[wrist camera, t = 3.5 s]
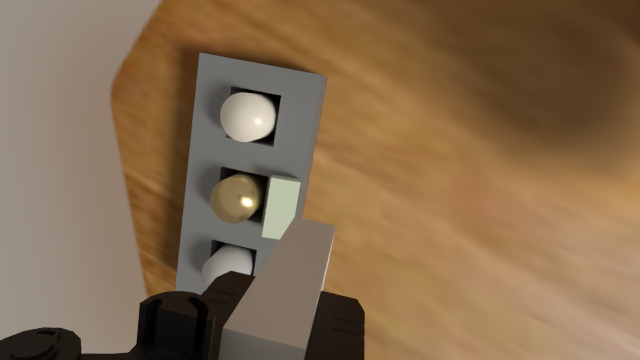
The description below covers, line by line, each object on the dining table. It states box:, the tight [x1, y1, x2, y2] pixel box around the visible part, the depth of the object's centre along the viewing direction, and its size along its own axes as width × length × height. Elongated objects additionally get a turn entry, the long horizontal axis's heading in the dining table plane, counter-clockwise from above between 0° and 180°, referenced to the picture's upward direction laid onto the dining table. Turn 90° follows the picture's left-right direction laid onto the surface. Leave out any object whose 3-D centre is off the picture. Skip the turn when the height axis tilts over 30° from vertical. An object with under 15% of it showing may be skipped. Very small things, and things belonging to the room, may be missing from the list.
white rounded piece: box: [220, 92, 279, 142], centre depth 35 cm, size 4×4×5 cm
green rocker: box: [262, 175, 301, 240], centre depth 35 cm, size 6×3×2 cm, turn 169°
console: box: [175, 53, 327, 295], centre depth 38 cm, size 26×12×4 cm, turn 169°
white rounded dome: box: [201, 243, 257, 288], centre depth 38 cm, size 4×4×5 cm
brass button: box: [210, 171, 268, 224], centre depth 36 cm, size 4×4×5 cm
